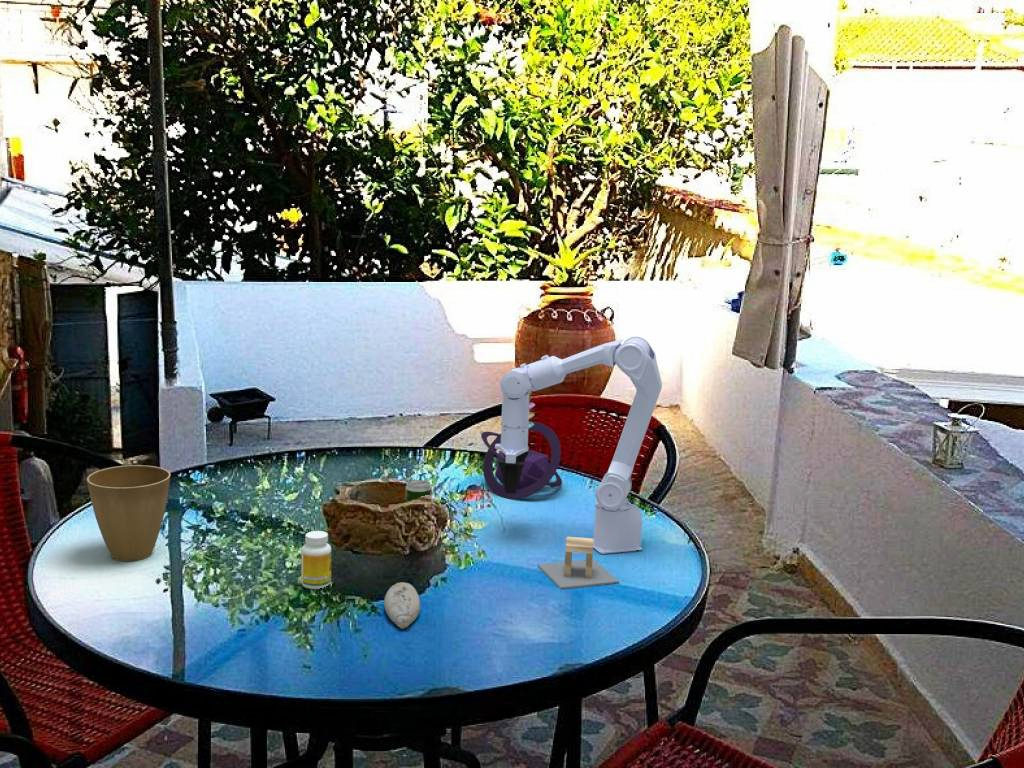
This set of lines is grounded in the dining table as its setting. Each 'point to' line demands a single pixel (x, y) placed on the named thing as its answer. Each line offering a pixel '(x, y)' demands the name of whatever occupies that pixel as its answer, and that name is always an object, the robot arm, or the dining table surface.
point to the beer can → (417, 489)
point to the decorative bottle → (535, 466)
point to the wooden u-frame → (580, 547)
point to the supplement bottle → (316, 561)
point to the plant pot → (129, 508)
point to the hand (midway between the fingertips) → (512, 487)
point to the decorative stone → (402, 604)
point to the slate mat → (577, 574)
